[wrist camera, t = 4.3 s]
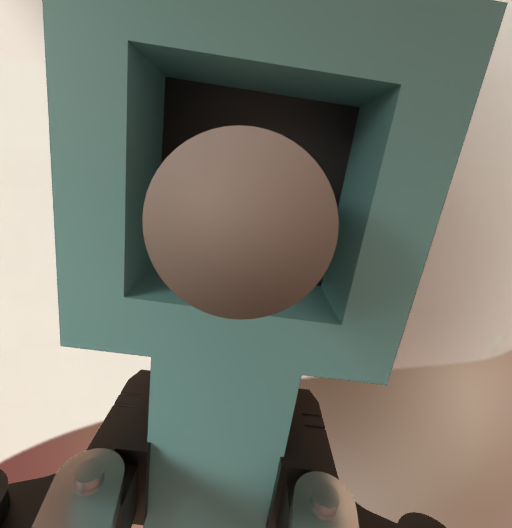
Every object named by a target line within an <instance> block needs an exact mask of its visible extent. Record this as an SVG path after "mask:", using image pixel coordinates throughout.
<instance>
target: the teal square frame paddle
mask: <svg viewBox="0 0 512 528" xmlns="http://www.w3.org/2000/svg"><path fill="white" fill-rule="evenodd" d="M42 1H43V20H44V39H45V58H46V77H47V96H48V115H49V134H50V153H51V172H52V191H53V210H54V229H55V248H56V267H57V286H58V305H59V324H60V343H61V346H65V347H73V348H81V349H90V350H98V351H106V352H114V353H123V354H131V355H139V356H148V357H151V372H150V393H149V415H148V436H147V442H150V443H151V449H150V469H149V488H148V508H147V517H146V520H145V523H144V525H143V528H266V522H267V518H268V513H269V508H270V503H271V499H272V494H273V489H274V485H275V480H276V475H277V471H278V466H279V461H280V457H284V454H285V449H286V445H287V440H288V435H289V431H290V426H291V422H292V417H293V412H294V408H295V403H296V399H297V394H298V389H299V385H300V380H301V376H302V375H306V376H314V377H323V378H331V379H339V380H348V381H356V382H364V383H373V384H381V385H387V382H388V379H389V376H390V373H391V370H392V367H393V364H394V360H395V357H396V354H397V351H398V348H399V345H400V341H401V338H402V335H403V332H404V329H405V326H406V322H407V319H408V316H409V313H410V310H411V307H412V303H413V300H414V297H415V294H416V291H417V288H418V284H419V281H420V278H421V275H422V272H423V269H424V265H425V262H426V259H427V256H428V253H429V250H430V247H431V243H432V240H433V237H434V234H435V231H436V228H437V224H438V221H439V218H440V215H441V212H442V209H443V205H444V202H445V199H446V196H447V193H448V190H449V186H450V183H451V180H452V177H453V174H454V171H455V167H456V164H457V161H458V158H459V155H460V152H461V148H462V145H463V142H464V139H465V136H466V133H467V130H468V126H469V123H470V120H471V117H472V114H473V111H474V107H475V104H476V101H477V98H478V95H479V92H480V88H481V85H482V82H483V79H484V76H485V73H486V69H487V66H488V63H489V60H490V57H491V54H492V50H493V47H494V44H495V41H496V38H497V35H498V31H499V28H500V25H501V22H502V19H503V16H504V13H505V9H506V6H507V3H505V2H499V1H494V0H42ZM165 77H169V78H176V79H182V80H189V81H195V82H201V83H208V84H214V85H220V86H227V87H233V88H240V89H246V90H252V91H259V92H265V93H271V94H278V95H284V96H291V97H297V98H303V99H310V100H316V101H322V102H329V103H335V104H342V105H348V106H354V107H360V109H359V114H358V118H357V123H356V127H355V132H354V137H353V141H352V146H351V150H350V155H349V160H348V164H347V169H346V173H345V178H344V183H343V187H342V192H341V197H340V201H339V206H338V218H339V228H338V238H337V245H336V248H335V252H334V255H333V258H332V260H331V262H330V265H329V267H328V269H327V271H326V272H325V274H324V275H323V279H322V284H321V286H315V288H314V289H313V290H311V291H310V292H309V293H308V294H307V295H306V296H305V297H304V298H303V299H301V300H300V301H299V302H297V303H296V304H294V305H293V306H291V307H289V308H287V309H285V310H283V311H281V312H279V313H276V314H273V315H270V316H266V317H262V318H256V319H245V320H239V319H227V318H222V317H217V316H214V315H211V314H208V313H205V312H203V311H201V310H198V309H196V308H194V307H193V306H191V305H189V304H188V303H186V302H185V301H183V300H182V299H181V298H179V297H178V296H177V295H176V294H175V293H174V292H173V291H172V290H171V289H170V288H169V287H168V286H167V285H166V284H165V283H164V281H163V280H162V279H161V278H160V276H159V274H158V273H157V271H156V270H155V268H154V266H153V264H152V262H151V260H150V257H149V255H148V252H147V249H146V245H145V241H144V235H143V222H142V216H143V206H144V202H145V197H146V193H147V190H148V188H149V185H150V183H151V180H152V178H153V177H154V175H155V173H156V171H157V169H158V168H159V167H160V165H161V161H162V140H163V119H164V98H165Z"/></svg>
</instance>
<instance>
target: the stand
mask: <svg viewBox="0 0 512 528" xmlns="http://www.w3.org/2000/svg"><path fill="white" fill-rule="evenodd" d="M359 109H360V107H354V106H348V105H342V104H335V103H329V102H322V101H316V100H310V99H303V98H297V97H291V96H284V95H278V94H271V93H265V92H259V91H252V90H246V89H240V88H233V87H227V86H220V85H214V84H208V83H201V82H195V81H189V80H182V79H176V78H169V77H165V98H164V119H163V140H162V161H161V165H160V167H159V168H158V169H157V171H156V173H155V175H154V177H153V178H152V180H151V183H150V185H149V188H148V190H147V193H146V197H145V202H144V206H143V216H142V222H143V235H144V241H145V245H146V249H147V252H148V255H149V257H150V260H151V262H152V264H153V266H154V268H155V270H156V271H157V273H158V274H159V276H160V278H161V279H162V280H163V281H164V283H165V284H166V285H167V286H168V287H169V288H170V289H171V290H172V291H173V292H174V293H175V294H176V295H177V296H178V297H179V298H181V299H182V300H183V301H185V302H186V303H188V304H189V305H191V306H193V307H194V308H196V309H198V310H201V311H203V312H205V313H208V314H211V315H214V316H217V317H222V318H227V319H239V320H245V319H256V318H262V317H266V316H270V315H273V314H276V313H279V312H281V311H283V310H285V309H287V308H289V307H291V306H293V305H294V304H296V303H297V302H299V301H300V300H301V299H303V298H304V297H305V296H306V295H307V294H308V293H309V292H310V291H311V290H313V289H314V288H315V286H321V284H322V279H323V275H324V274H325V272H326V271H327V269H328V267H329V265H330V262H331V260H332V258H333V255H334V252H335V248H336V245H337V238H338V228H339V218H338V206H339V201H340V197H341V192H342V187H343V183H344V178H345V173H346V169H347V164H348V160H349V155H350V150H351V146H352V141H353V137H354V132H355V127H356V123H357V118H358V114H359Z"/></svg>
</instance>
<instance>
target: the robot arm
mask: <svg viewBox="0 0 512 528" xmlns="http://www.w3.org/2000/svg"><path fill="white" fill-rule="evenodd" d="M150 372H151V371H148V370H140V371H139V372H138V373H137V374H135V375H134V376H133V377H131V378H130V379H129V380H128V381H127V383H126V385H125V386H124V388H123V390H122V391H121V395H119V396H118V398H117V400H116V402H115V404H114V406H113V407H112V408H111V410H110V412H109V413H108V415H107V417H106V418H105V420H104V422H103V423H102V425H101V427H100V429H99V430H98V432H97V433H96V435H95V437H94V439H93V440H92V442H91V444H90V445H89V447H88V449H87V450H86V451H84V452H81V453H79V454H77V455H75V456H74V457H72V458H71V459H70V460H68V461H67V462H66V463H65V464H64V465H63V466H62V467H61V468H60V469H59V470H58V472H57V473H56V474H53V475H50V476H47V477H43V478H38V479H32V480H28V481H22V482H17V483H12V484H8V478H7V476H6V474H5V473H4V472H3V471H2V470H0V528H131V526H132V524H138V525H144V523H145V520H146V517H147V508H148V488H149V469H150V449H151V443H150V442H147V436H148V415H149V393H150ZM266 528H446V527H445V526H444V525H443V524H441V523H440V522H438V521H437V520H435V519H433V518H432V517H429V516H427V515H425V514H421V513H415V512H414V513H407V514H405V515H403V516H402V517H401V518H400V520H399V522H398V524H397V523H394V522H392V521H390V520H388V519H386V518H383V517H381V516H379V515H376V514H374V513H372V512H370V511H368V510H366V509H364V508H363V507H361V506H360V505H358V504H357V503H356V502H355V501H354V498H353V496H352V494H351V493H350V491H349V490H348V489H347V487H346V486H345V485H344V484H343V483H342V482H341V481H340V480H339V479H338V475H337V472H336V468H335V464H334V460H333V456H332V453H331V449H330V445H329V441H328V437H327V433H326V430H325V426H324V422H323V418H322V415H321V410H320V407H319V403H318V401H317V400H316V398H315V397H314V396H313V395H312V393H311V392H310V390H306V389H298V394H297V399H296V403H295V408H294V412H293V417H292V422H291V426H290V431H289V435H288V440H287V445H286V449H285V454H284V457H280V461H279V466H278V471H277V475H276V480H275V485H274V489H273V494H272V499H271V503H270V508H269V513H268V518H267V522H266Z"/></svg>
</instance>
